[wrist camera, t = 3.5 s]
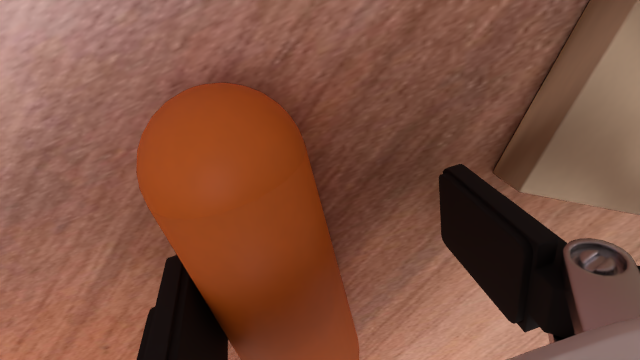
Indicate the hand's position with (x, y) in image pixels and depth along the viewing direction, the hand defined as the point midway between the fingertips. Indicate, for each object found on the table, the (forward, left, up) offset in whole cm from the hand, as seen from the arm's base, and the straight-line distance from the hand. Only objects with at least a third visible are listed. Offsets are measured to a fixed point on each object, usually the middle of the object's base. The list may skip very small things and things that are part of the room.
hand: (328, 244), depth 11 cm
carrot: (0, 0, 0) cm, 0 cm away
